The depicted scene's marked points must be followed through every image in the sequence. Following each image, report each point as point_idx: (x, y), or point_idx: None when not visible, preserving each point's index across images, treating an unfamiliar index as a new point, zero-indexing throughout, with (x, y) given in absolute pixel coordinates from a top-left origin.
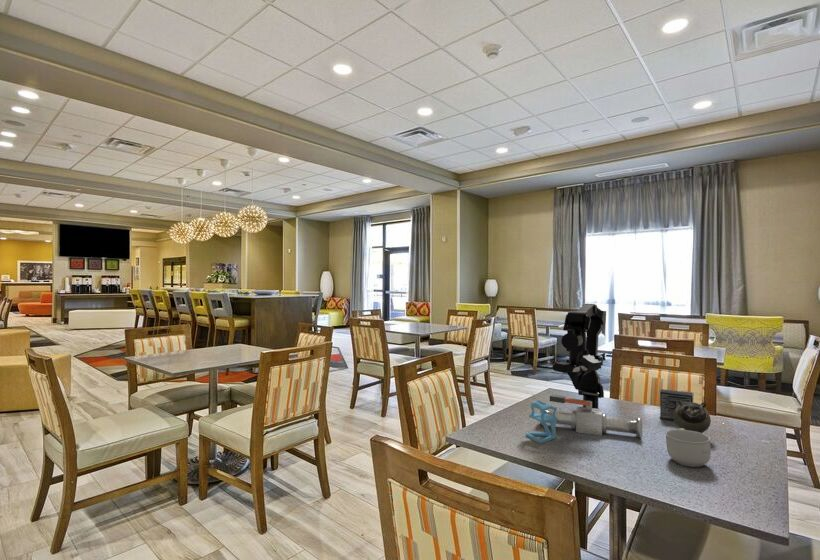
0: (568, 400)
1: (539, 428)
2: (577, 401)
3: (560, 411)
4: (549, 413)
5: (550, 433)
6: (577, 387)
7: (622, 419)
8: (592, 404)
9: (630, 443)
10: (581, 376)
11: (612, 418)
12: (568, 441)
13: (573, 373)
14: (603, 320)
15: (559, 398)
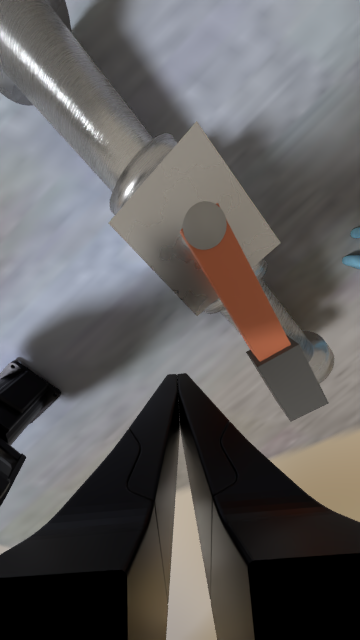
0: (277, 323)
1: (314, 322)
2: (256, 278)
3: None
4: (304, 339)
5: (353, 255)
6: (193, 382)
7: (74, 76)
8: (13, 391)
9: (150, 28)
10: (154, 493)
11: (117, 129)
12: (349, 181)
13: (277, 623)
14: None
15: (305, 361)
